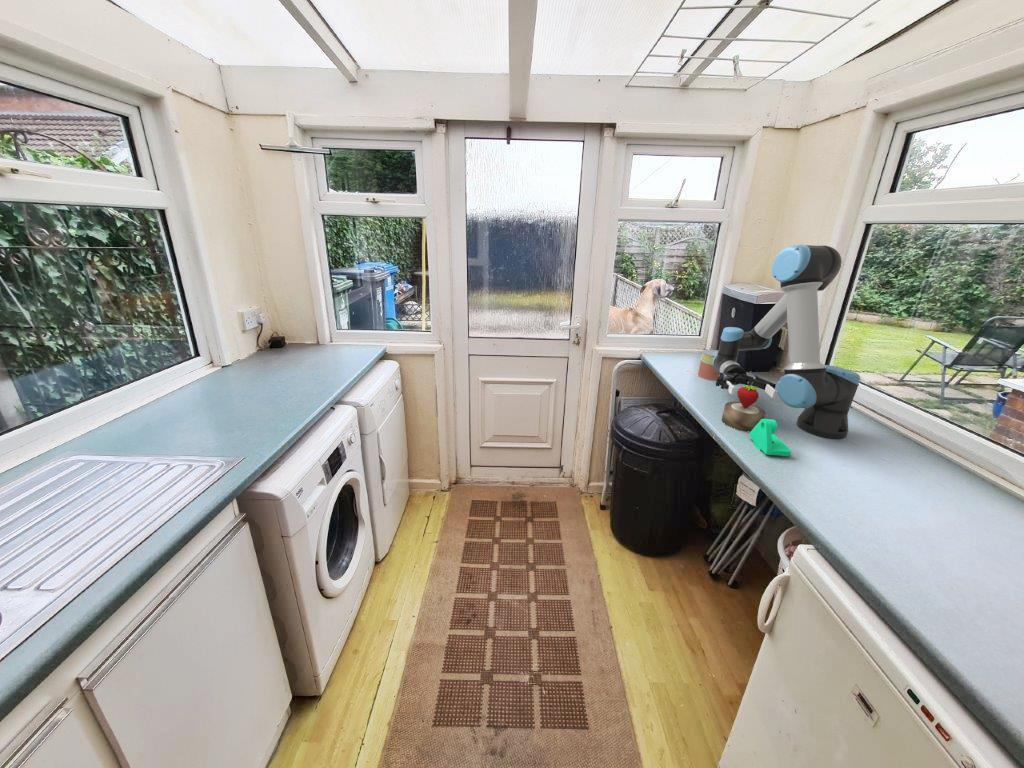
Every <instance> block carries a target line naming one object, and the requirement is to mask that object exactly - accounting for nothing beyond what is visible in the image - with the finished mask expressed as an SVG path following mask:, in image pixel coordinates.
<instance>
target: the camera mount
mask: <svg viewBox="0 0 1024 768" xmlns="http://www.w3.org/2000/svg"><path fill="white" fill-rule="evenodd" d="M777 428H778V424H777V421H776V420H775V419H769V418H764V419H761V420H760V421H759V423H758V424H757V425H756V426H755V427H754V428H753V430H752V431H751V432H749V435H748V436H749V438H750V439H751V440H752V441H753V443H754V444H753V446H754V447H756V448H757V449H759V450H761V451H760V452H763V453H764V454H765V455H768V456H769V455H770V456H784V457H790V456H791V453H792V450H791V449H790V448H789V447H788V446H787V445H786V444H785V443H784V441H782V440H781V439H780V438H778V437H777V436H776V435H775V433H776V432H777ZM759 450H758V451H759Z"/></svg>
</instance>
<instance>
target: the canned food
mask: <svg viewBox="0 0 1024 768" xmlns="http://www.w3.org/2000/svg"><path fill="white" fill-rule="evenodd" d="M718 350H719V349H717V350H715V349H704V350H702V354H701V359H700V364H699V367H698V372H697V377H699V378H701V379H703V380H705V381H710V382H716V381H717V378H718V377H719V372H718V371H716V370H715V368H714V366H713V364H712V361H713V358H714V357H715V356H716V355H717V354H718Z"/></svg>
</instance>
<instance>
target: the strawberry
mask: <svg viewBox="0 0 1024 768" xmlns="http://www.w3.org/2000/svg"><path fill="white" fill-rule="evenodd" d="M752 383H753V382H752ZM751 385H752V384H751ZM736 393H737V398H738V400H739V402H741V404H742V406H743V407H744V408H748V407H749V406H751V405H752V404H753V405H754V404H755V403H756V402H757V401H758V399H759V397H760V395H759V392H758V388H757V387H754V386H748V385H744V384H742V386H741V387H739V388H738V389H737V392H736Z"/></svg>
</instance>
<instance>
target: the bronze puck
mask: <svg viewBox="0 0 1024 768" xmlns="http://www.w3.org/2000/svg"><path fill="white" fill-rule="evenodd" d="M722 412H723V414H722V416H721V422H722V423H723V424H724V423H725V424H724V425H726V426H727V425H728V426H727V427H729V426H730V427H729V428H731V427H732V429H734V428H735V429H734V430H737V429H738V430H737V431H741V430H743V431H742V432H747V431H752V430H753V428H754V427H755V426H756V425H757V424H758V423H759V421H760V420H761V419H765V416H766V411H765V409H763V408H762V407H760V406H758V405H755V404H754V403H753V404H752V405H751V406H749V407H748V408H744V407H743V406H742V404H741V402H740V401H734V400H733V401H728V402H726V403H725V405H724V407H723V411H722Z"/></svg>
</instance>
